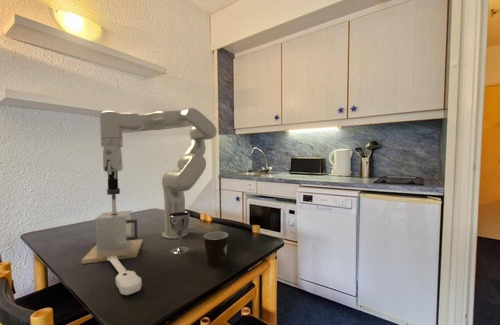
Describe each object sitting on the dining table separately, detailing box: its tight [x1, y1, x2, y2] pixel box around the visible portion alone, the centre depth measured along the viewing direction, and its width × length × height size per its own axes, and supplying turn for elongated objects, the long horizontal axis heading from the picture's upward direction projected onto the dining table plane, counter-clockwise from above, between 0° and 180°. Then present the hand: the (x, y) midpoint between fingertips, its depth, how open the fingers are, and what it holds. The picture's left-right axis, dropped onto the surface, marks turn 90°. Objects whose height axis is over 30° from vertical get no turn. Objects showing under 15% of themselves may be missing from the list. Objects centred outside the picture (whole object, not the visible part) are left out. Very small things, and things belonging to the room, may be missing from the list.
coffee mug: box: [203, 230, 229, 268], centre depth 82 cm, size 12×9×10 cm
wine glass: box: [169, 211, 191, 255], centre depth 95 cm, size 8×8×15 cm
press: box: [81, 210, 144, 265], centre depth 94 cm, size 18×16×15 cm
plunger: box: [106, 187, 121, 215], centre depth 94 cm, size 8×8×16 cm
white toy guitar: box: [107, 256, 143, 296], centre depth 74 cm, size 28×6×3 cm, turn 42°
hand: (113, 188), depth 94 cm, fingers closed
